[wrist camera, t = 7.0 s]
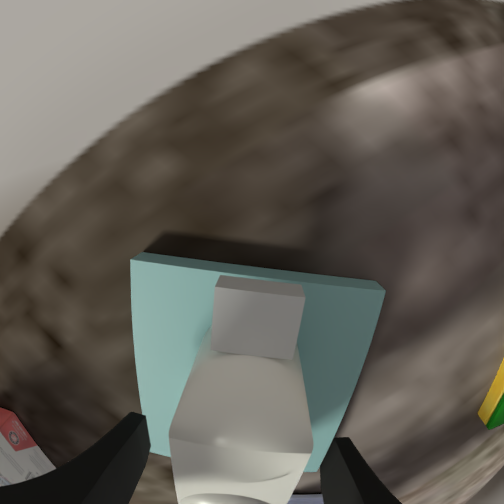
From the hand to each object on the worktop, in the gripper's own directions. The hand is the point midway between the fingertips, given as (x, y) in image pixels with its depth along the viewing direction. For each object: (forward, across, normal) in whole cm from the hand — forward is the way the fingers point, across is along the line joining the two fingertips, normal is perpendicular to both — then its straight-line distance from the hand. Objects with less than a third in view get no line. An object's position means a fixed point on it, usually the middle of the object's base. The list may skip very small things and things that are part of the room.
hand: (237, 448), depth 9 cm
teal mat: (+4, 0, 0) cm, 4 cm away
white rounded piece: (+3, 0, 0) cm, 3 cm away
